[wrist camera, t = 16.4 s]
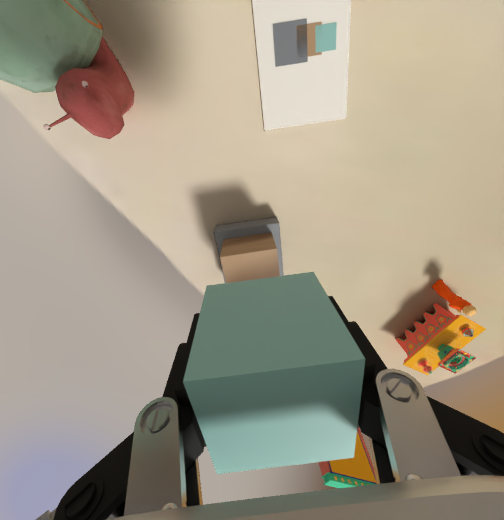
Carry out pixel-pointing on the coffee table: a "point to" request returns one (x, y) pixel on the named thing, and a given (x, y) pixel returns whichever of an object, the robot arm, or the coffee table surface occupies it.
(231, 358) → the teal block
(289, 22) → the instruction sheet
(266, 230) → the base plate
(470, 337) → the toy building block set
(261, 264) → the walnut block
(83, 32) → the toy snail
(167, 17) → the coffee table surface
